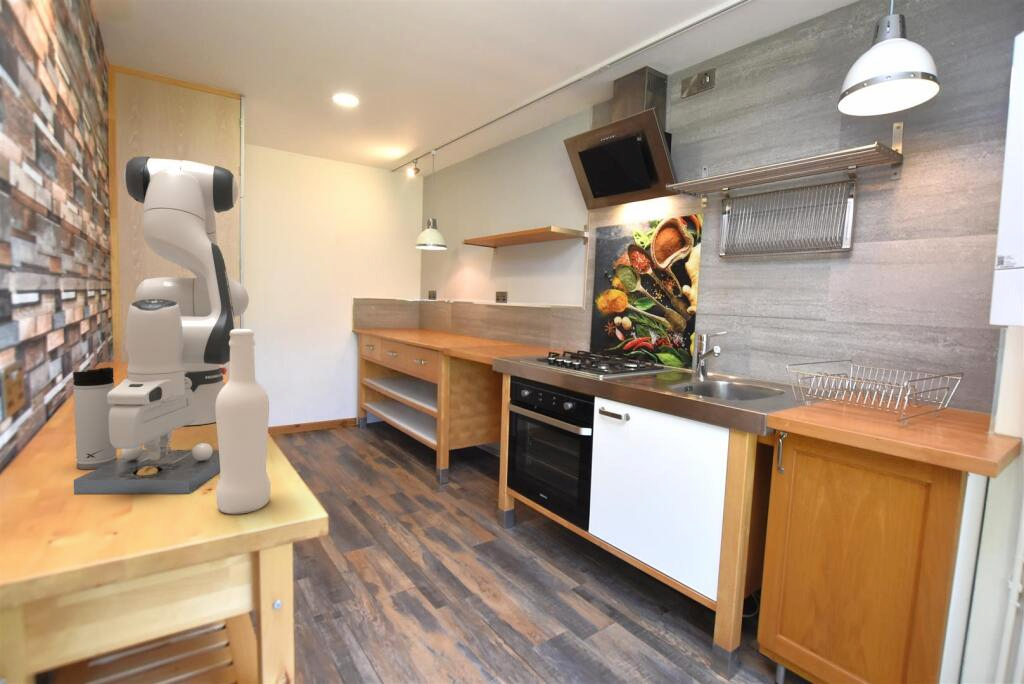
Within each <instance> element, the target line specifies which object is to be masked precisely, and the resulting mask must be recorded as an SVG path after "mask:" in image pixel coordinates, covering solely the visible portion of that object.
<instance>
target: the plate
mask: <svg viewBox="0 0 1024 684" xmlns="http://www.w3.org/2000/svg"><path fill="white" fill-rule="evenodd" d="M192 450H193V449H192ZM192 450H190V449H187V450H186V449H183V450H182V449H172V447H171V446H168V455H166V456H165V457H163V458H161V459H159V460H149V451H148V450H147V449H143V454H142V456H141V457H140V458H138V459H136V460H133V461H129V460H125V459H124V458H123V457H122V456H121V457H120V458H117V460H115V461H113V462H111V463H109V464H107V465H104V466H102V467H100V468H98V469H93V470H91V471H89V472H87V473H86V474H83V475H81V476H79V477H77V478H74V479H73V494H74V495H79V494H81V495H87V494H88V495H94V494H95V495H99V494H100V495H101V494H102V495H108V494H109V495H112V494H113V495H127V494H128V495H129V494H130V495H131V494H134V495H143V494H144V495H149V494H150V495H161V494H162V495H168V494H169V495H170V494H171V495H175V494H176V495H177V494H179V495H190V494H191V493H192V492H194V491H196V490H197V489H198V488H199V487H201V486H202V485H204V484H206V482H208V481H209V480H211V479H212V478H214V477H215V476H216V475H218V474H220V458H219V449H218V450H214V449H213V453H212V455H211V457H210V458H209V459H207V460H205V461H198V460H196V459H194V458H193V456H192ZM145 466H153V467H155V468H157V469H158V471H159V472H158V473H155V474H150V475H136V473H137V472H138V470H139V469H141V468H142V467H145Z"/></svg>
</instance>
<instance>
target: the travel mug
mask: <svg viewBox="0 0 1024 684" xmlns="http://www.w3.org/2000/svg"><path fill="white" fill-rule="evenodd" d="M72 375H73V377H72V378H73V383H72V384H73V406H74V407H73V408H74V410H73V411H74V428H75V429H74V432H75V433H74V434H75V453H76V456H75V457H76V467H77V469H79V470H88V471H89V470H96V469H98V468H100V467H102V466H104V465H107V464H109V463H111V462H113V461H115V460H117V459H118V457H117V456H118V454H117V453H118V452H117V450H118V449H116V448H114V447H113V446H112V444H111V443H110V438H109V411H110V409H111V407H112V406H113V405H115V404H108V402H107V394H108V393H109V392H110V391H111V390H112V389H114V388H115V381H114V367H109V366H107V367H102V368H101V367H99V368H95V369H87V370H86V371H74V372H72Z"/></svg>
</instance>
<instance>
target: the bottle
mask: <svg viewBox="0 0 1024 684" xmlns="http://www.w3.org/2000/svg"><path fill="white" fill-rule="evenodd" d="M229 335H230V341H229V346H230V361H229V379H228V381H227V382H226V385H225V386H224V387H223V388H222V389H221V391H220V392H219V394H218V396H217V399H216V404H215V412H216V422H215V423H216V431H217V432H216V433H217V445H218V450H219V458H220V472H219V474H220V475H219V480H218V483H217V485H216V488H215V499H216V500H215V501H216V506H217V508H218V509H219V511H220V512H221V513H224V514H228V515H240V514H241V515H242V514H246V513H253V512H255V511H258V510H260V509H261V508H263V507H266V505H267V504H268V502H269V501H270V497H271V490H272V489H271V480H270V478H269V475H268V473H267V451H268V450H267V449H268V434H269V418H270V417H269V416H270V400H269V396H268V393H267V391H266V389H265V388H264V387H263V386H262V384H260V382H259V381H257V379H256V372H255V371H256V368H255V367H256V364H255V345H256V341H255V339H254V336H255V333H254V331H253V330H252V329H251V328H250V329H249V328H238V329H233V330H231V331H230V334H229Z"/></svg>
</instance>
